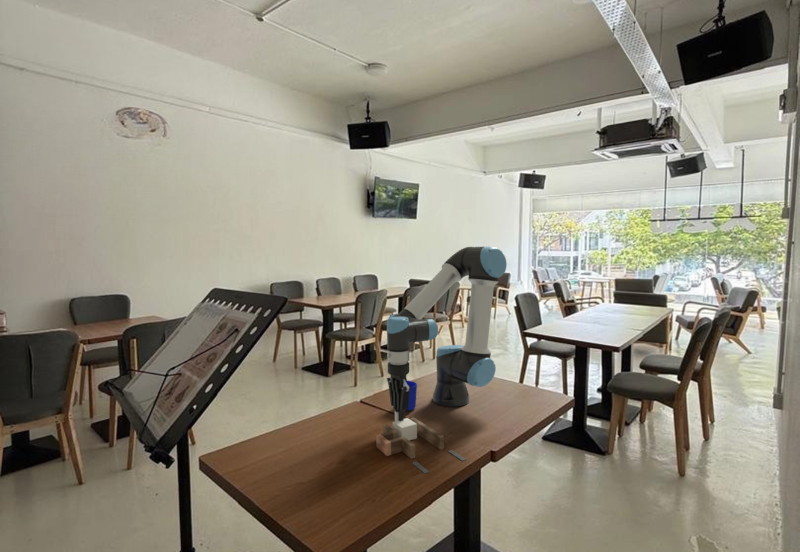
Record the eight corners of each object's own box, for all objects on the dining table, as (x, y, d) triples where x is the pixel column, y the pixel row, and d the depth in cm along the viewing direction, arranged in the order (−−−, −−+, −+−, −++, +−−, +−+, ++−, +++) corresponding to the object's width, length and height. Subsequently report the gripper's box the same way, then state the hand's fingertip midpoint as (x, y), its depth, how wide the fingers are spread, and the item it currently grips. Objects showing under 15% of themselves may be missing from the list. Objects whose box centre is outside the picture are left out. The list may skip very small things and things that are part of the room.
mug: (418, 401, 180) (418, 378, 180) (416, 412, 168) (416, 387, 168) (398, 401, 181) (398, 377, 180) (395, 412, 169) (395, 387, 168)
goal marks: (412, 463, 129) (412, 462, 129) (452, 450, 137) (452, 449, 137) (425, 473, 123) (425, 473, 123) (466, 459, 131) (466, 459, 131)
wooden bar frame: (369, 440, 145) (368, 429, 145) (414, 428, 154) (414, 417, 154) (395, 463, 129) (395, 450, 129) (444, 448, 138) (444, 436, 138)
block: (392, 435, 148) (392, 421, 148) (407, 431, 151) (407, 417, 151) (402, 442, 143) (401, 428, 143) (417, 438, 146) (416, 423, 146)
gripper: (380, 359, 152) (381, 424, 154) (398, 368, 141) (399, 437, 143) (398, 356, 156) (399, 419, 158) (417, 364, 145) (418, 432, 147)
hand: (399, 428), depth 150 cm, fingers closed
